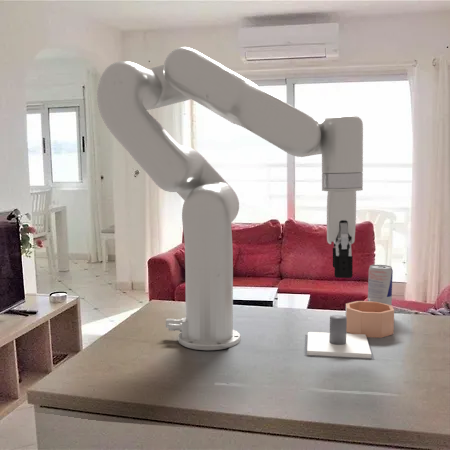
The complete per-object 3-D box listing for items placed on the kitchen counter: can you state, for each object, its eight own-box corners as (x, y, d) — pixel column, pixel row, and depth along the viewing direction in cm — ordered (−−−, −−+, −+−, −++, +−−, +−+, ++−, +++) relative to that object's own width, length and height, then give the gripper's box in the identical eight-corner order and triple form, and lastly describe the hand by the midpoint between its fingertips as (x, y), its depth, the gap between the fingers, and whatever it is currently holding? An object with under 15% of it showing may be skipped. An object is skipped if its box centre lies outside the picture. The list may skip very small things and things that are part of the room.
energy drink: (393, 316, 130) (395, 265, 129) (387, 321, 126) (388, 269, 124) (371, 312, 133) (372, 263, 132) (364, 318, 128) (365, 267, 127)
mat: (304, 357, 103) (304, 355, 103) (305, 336, 115) (305, 334, 115) (374, 361, 101) (374, 359, 101) (367, 339, 113) (367, 337, 113)
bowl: (347, 337, 114) (347, 311, 113) (344, 324, 124) (345, 300, 123) (395, 340, 113) (396, 313, 112) (389, 326, 122) (389, 302, 121)
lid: (307, 354, 103) (307, 324, 102) (307, 335, 114) (308, 308, 114) (371, 358, 101) (372, 327, 101) (365, 338, 113) (366, 310, 112)
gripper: (321, 181, 113) (321, 263, 115) (322, 185, 96) (322, 281, 98) (358, 180, 112) (358, 264, 114) (367, 184, 95) (366, 282, 97)
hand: (342, 272), depth 106 cm, fingers open, 9 cm apart
